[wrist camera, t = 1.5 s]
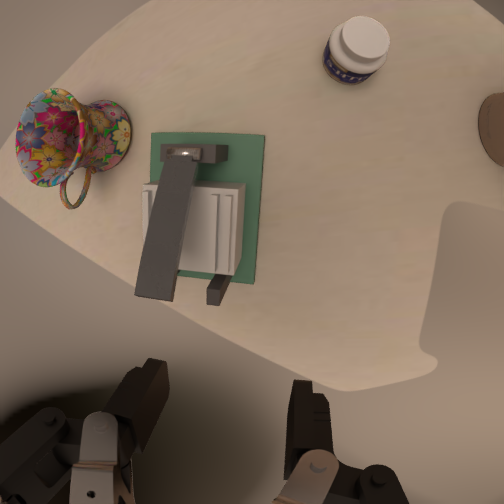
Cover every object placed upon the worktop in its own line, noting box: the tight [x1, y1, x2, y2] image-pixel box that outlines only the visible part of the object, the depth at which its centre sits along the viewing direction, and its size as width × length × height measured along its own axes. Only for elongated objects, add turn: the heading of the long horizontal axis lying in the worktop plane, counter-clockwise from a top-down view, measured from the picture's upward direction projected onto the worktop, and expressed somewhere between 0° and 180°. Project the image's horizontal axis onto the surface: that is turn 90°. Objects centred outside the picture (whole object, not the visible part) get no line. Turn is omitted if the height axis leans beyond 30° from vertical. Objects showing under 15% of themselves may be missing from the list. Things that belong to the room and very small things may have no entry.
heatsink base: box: [142, 133, 265, 306], centre depth 30 cm, size 12×16×8 cm
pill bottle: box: [323, 16, 390, 84], centre depth 23 cm, size 5×5×9 cm
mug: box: [16, 88, 130, 209], centre depth 28 cm, size 12×9×11 cm
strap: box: [134, 147, 202, 302], centre depth 24 cm, size 3×12×1 cm
